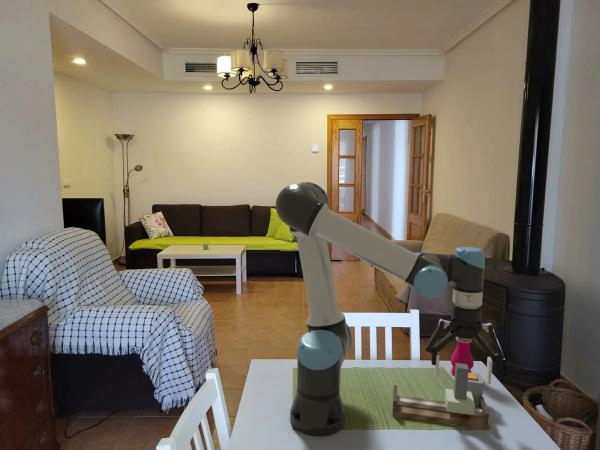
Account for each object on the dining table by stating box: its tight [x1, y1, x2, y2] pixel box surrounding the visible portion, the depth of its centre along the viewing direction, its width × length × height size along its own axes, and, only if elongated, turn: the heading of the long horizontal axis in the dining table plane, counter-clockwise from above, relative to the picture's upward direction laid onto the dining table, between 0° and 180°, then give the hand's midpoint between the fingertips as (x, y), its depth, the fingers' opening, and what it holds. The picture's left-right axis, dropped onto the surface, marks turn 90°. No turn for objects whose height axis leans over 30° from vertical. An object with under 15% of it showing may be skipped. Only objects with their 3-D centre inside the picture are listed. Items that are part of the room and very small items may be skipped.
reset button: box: [468, 372, 477, 381], centre depth 130 cm, size 3×3×6 cm
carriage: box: [444, 363, 475, 415], centre depth 122 cm, size 7×7×12 cm
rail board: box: [391, 384, 490, 430], centre depth 125 cm, size 25×9×4 cm, turn 77°
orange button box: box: [467, 372, 484, 406], centre depth 130 cm, size 6×6×8 cm
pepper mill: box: [450, 337, 475, 377], centre depth 147 cm, size 7×7×20 cm
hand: (462, 378), depth 122 cm, fingers open, 13 cm apart
